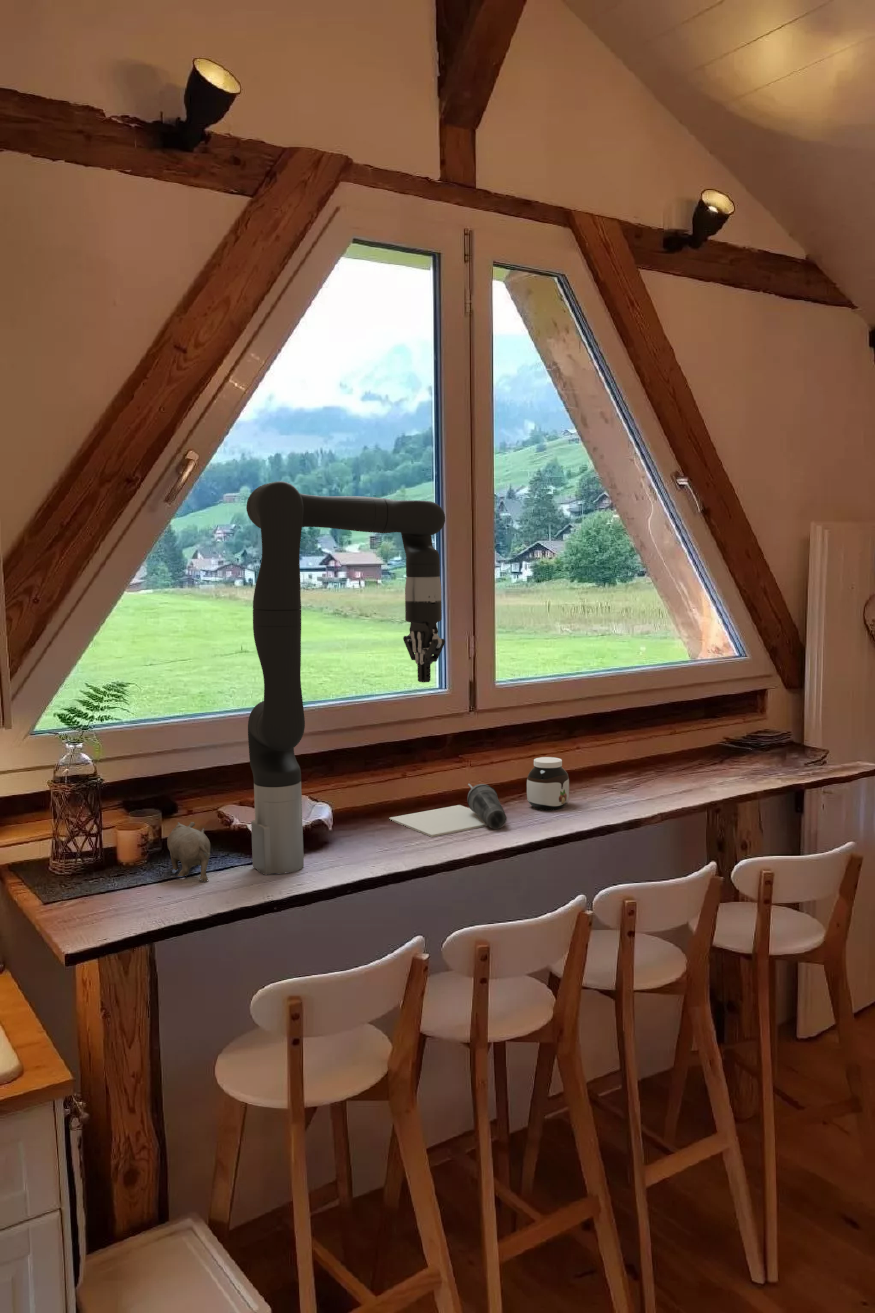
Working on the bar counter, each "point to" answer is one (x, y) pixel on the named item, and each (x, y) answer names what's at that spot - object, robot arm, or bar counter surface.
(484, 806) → the beverage cup
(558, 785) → the spread jar
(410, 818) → the white flat panel
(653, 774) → the bar counter surface
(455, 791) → the bar counter surface
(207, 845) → the elephant figurine
